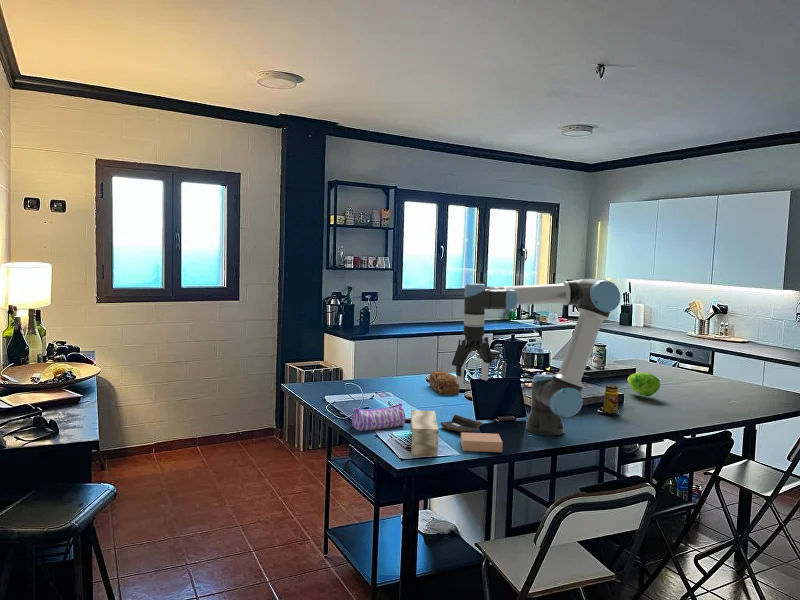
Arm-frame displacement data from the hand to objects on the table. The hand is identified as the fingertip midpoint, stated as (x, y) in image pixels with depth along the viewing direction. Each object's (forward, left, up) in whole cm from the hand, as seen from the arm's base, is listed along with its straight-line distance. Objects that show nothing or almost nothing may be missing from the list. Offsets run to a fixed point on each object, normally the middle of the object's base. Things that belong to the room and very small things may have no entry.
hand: (472, 382), depth 222 cm
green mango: (-100, -89, -23) cm, 136 cm away
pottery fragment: (+4, -11, -23) cm, 26 cm away
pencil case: (+35, -11, -23) cm, 43 cm away
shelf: (+19, +7, -22) cm, 30 cm away
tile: (-3, +7, -23) cm, 24 cm away
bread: (+4, -78, -23) cm, 82 cm away
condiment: (-70, -51, -23) cm, 89 cm away
